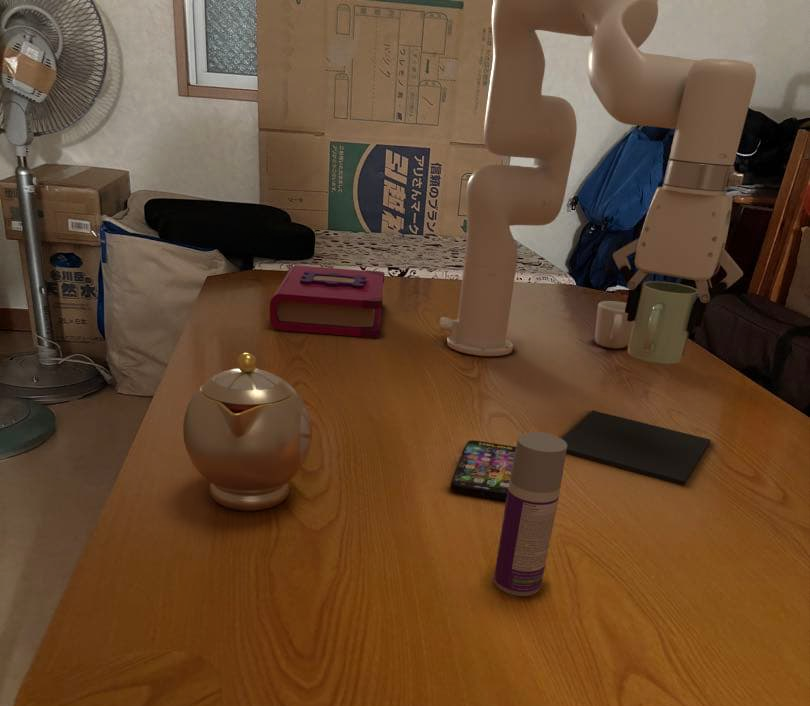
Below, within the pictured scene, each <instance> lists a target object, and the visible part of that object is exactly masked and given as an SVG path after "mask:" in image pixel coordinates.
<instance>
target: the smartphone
mask: <svg viewBox="0 0 810 706" xmlns="http://www.w3.org/2000/svg"><path fill="white" fill-rule="evenodd" d="M515 450H516V446H512V445H507V444H501V443H500V444H499V443H495V442H494V443H493V442H489V441H481V440H473V439H471V440H468V441H467V443H466V444H465V446H464V448H463V450H462V453H461V456H460V457H459V460H458V463H457V466H456V467H455V471H454V473H453V475H452V478H451V482H450V489H451V490H452V491H454V492H456V493H460V494H466V495H471V496H477V497H483V498H489V499H495V500H502V501H506V498H507V492H508V486H509V481H510V476H511V471H512V466H513V460H514V455H515Z"/></svg>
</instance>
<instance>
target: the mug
mask: <svg viewBox="0 0 810 706" xmlns="http://www.w3.org/2000/svg"><path fill="white" fill-rule="evenodd" d="M698 296H699V294H698V290H697V288H694V287H693V286H690V285H685V284H681V283H675V282H668V281H657V280H656V281H655V280H653V281H652V280H650V281H644V282H643V283H642V285H641V290H640V294H639V299H638V303H637V308H636V312H635V317H634V321H633V326H632V330H631V335H630V339H629V341H628V344H627V351H626V352H627V354H628V355H629V356H630V357H633V358H635V359H637V360H640V361H644V362H647V363H653V364H662V365H673V364H679V363H681V362H682V360H683V357H684V354H685V351H686V348H687V347H686V346H687V344H688V343H687V342H688V340H689V335H690V333H688V332H687V329H688V325H689V321H690V317H691V313H692V310H693V306H694V303H695V302H696V301H697V300H698Z"/></svg>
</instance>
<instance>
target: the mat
mask: <svg viewBox="0 0 810 706" xmlns="http://www.w3.org/2000/svg"><path fill="white" fill-rule="evenodd" d="M561 439H563V440H564V441H565V442H566V443H567V451H566V454H568V455H570V456H575V457H578V458H582V459H586V460H588V461H589V460H590V461H594V462H598V463H601V464H605V465H609V466H612V467H615V468H619V469H622V470H626V471H630V472H633V473H638V474H641V475H645V476H648V477H652V478H655V479H659V480H663V481H667V482H670V483H674V484H677V485H681V486H685V485H686V483H687V482H688V480H689V478H690V477H691V475H692V473H693V472H694V470H695V468H696V467H697V465H698V463H699V461H700V460H701V458H702V457H703V455H704V454H705V452H706V451H707V448H708V446H709V445H710V444H711V441H712V440H711V439H710V438H706V437H702V436H698V435H694V434H690V433H686V432H682V431H678V430H675V429H670V428H665V427H661V426H657V425H653V424H650V423H647V422H646V423H645V422H641V421H638V420H633V419H630V418H625V417H621V416H617V415H613V414H609V413H605V412H601V411H597V410H591V411H590V412H589V413H588V414H587V415H585V417H583V418H582V419H581V420H580V421H579V422H578V423H577V424H576V425H574V427H572V428H571V429H570V430H569V431H567V433H566V434H564V435H563V437H561Z"/></svg>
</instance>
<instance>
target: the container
mask: <svg viewBox="0 0 810 706" xmlns="http://www.w3.org/2000/svg"><path fill="white" fill-rule="evenodd" d="M561 438H562V437H561ZM561 438H560V437H559V436H556V435H554V434H551V433H545V432H537V431H535V432H532V431H531V432H526V433H522V434H520V435H519V436H518V437H517V440H516V445H515V447H516V450H515V455H514V460H513V466H512V471H511V476H510V481H509V486H508V492H507V498H506V500H505V506H504V512H503V518H502V524H501V531H500V535H499V543H498V549H497V554H496V555H497V556H496V562H495V568H494V575H493V584H494V585H495V587H496V588H497V589H499V590H500V591H502V592H504V593H506V594H508V595H512V596H516V597H529V596H533V595H536V594H537V593H538V592H539V591H540V590H541V587H542V583H543V578H544V573H545V569H546V563H547V558H548V554H549V549H550V543H551V538H552V533H553V529H554V524H555V519H556V514H557V508H558V503H559V497H560V493H561V486H562V481H563V475H564V470H565V469H564V468H565V463H566V456H567V453H566V451H567V443H566V442H565V441H564V440H563V439H561Z"/></svg>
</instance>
